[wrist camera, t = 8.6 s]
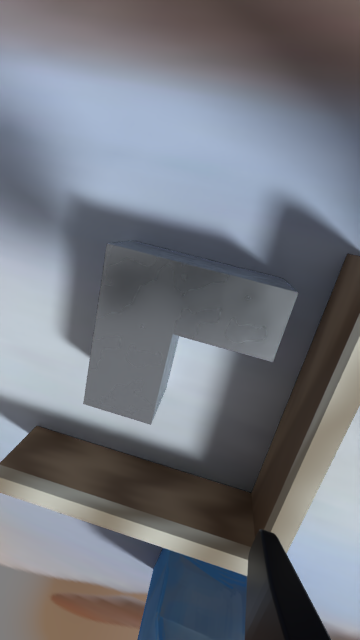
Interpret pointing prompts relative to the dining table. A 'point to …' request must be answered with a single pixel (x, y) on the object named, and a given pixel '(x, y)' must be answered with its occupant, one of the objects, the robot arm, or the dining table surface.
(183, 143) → the dining table surface
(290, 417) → the tan l-shaped wall
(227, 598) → the blue corked bottle
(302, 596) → the robot arm
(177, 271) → the bracket
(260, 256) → the dining table surface
